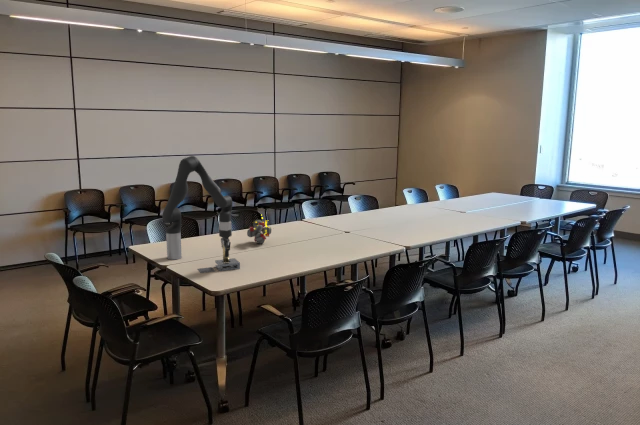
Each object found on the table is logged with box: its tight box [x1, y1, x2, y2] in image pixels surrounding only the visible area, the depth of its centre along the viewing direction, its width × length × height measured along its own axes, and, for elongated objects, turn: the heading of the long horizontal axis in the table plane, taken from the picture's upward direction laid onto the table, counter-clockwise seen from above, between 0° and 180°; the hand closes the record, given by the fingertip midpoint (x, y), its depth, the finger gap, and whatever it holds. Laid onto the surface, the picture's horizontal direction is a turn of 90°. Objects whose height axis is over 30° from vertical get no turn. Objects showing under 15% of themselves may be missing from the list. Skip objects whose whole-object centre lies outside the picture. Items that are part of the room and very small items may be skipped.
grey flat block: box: [214, 258, 241, 272], centre depth 310 cm, size 11×12×4 cm
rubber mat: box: [196, 267, 216, 274], centre depth 305 cm, size 10×9×1 cm
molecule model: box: [246, 214, 274, 245], centre depth 373 cm, size 25×21×23 cm
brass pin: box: [222, 245, 230, 263], centre depth 309 cm, size 4×4×11 cm
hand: (226, 255), depth 309 cm, fingers closed on brass pin, 3 cm apart
